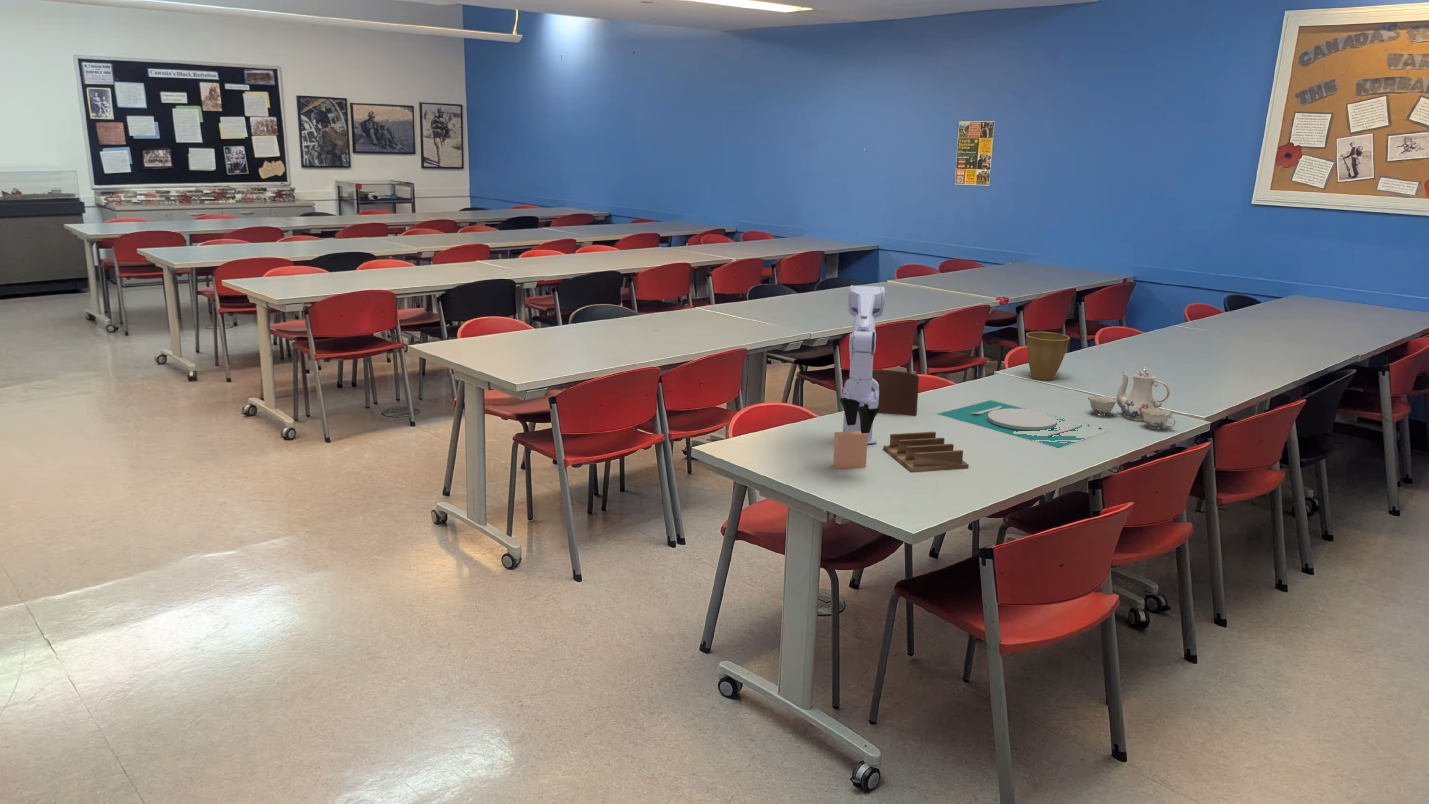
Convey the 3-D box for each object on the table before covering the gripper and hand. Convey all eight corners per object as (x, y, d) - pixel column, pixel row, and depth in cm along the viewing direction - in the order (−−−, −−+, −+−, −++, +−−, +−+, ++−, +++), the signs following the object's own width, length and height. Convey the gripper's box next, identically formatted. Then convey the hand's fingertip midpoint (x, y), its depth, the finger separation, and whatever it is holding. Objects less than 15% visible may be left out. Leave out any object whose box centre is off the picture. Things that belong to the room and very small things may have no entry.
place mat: (931, 416, 289) (931, 409, 288) (989, 401, 307) (990, 394, 306) (1059, 452, 255) (1060, 444, 254) (1117, 433, 273) (1118, 426, 272)
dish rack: (883, 449, 254) (884, 433, 253) (937, 445, 257) (938, 430, 256) (911, 471, 236) (912, 455, 235) (968, 468, 239) (969, 451, 238)
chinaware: (1077, 419, 290) (1080, 369, 285) (1102, 404, 300) (1106, 356, 295) (1167, 439, 270) (1172, 386, 264) (1191, 423, 280) (1197, 371, 275)
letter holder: (916, 416, 286) (919, 372, 282) (852, 412, 290) (854, 368, 287) (917, 408, 295) (920, 365, 292) (855, 404, 300) (857, 362, 296)
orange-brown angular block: (833, 464, 241) (834, 432, 238) (861, 463, 242) (863, 430, 240) (836, 468, 238) (838, 435, 236) (865, 466, 240) (867, 434, 237)
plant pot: (1021, 381, 330) (1026, 337, 326) (1022, 372, 344) (1026, 330, 340) (1065, 384, 326) (1070, 340, 322) (1064, 375, 340) (1069, 333, 335)
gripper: (833, 372, 238) (831, 422, 242) (860, 385, 225) (857, 438, 229) (857, 370, 241) (855, 420, 244) (885, 383, 227) (882, 435, 231)
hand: (858, 428), depth 236 cm, fingers open, 7 cm apart
